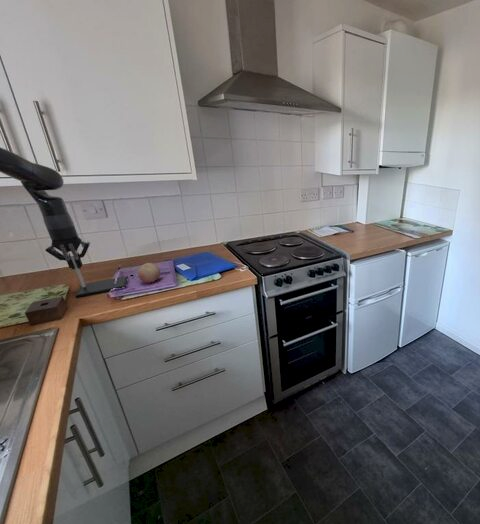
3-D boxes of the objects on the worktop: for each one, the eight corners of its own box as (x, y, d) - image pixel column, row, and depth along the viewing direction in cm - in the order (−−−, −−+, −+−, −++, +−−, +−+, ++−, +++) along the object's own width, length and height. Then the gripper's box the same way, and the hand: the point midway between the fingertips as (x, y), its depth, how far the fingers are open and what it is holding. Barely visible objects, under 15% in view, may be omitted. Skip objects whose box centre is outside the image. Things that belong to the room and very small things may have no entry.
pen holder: (30, 325, 100) (24, 312, 98) (38, 313, 106) (32, 301, 104) (62, 318, 103) (56, 306, 101) (68, 308, 110) (62, 296, 108)
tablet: (76, 298, 116) (75, 295, 116) (82, 286, 125) (81, 284, 124) (126, 288, 123) (125, 285, 123) (128, 278, 132) (127, 275, 132)
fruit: (136, 283, 128) (131, 266, 125) (155, 275, 134) (150, 259, 131) (148, 287, 124) (142, 269, 121) (166, 279, 131) (161, 262, 128)
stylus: (82, 289, 120) (69, 257, 115) (83, 288, 121) (70, 256, 116) (86, 288, 121) (73, 256, 115) (86, 287, 122) (74, 255, 116)
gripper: (31, 230, 104) (51, 275, 111) (81, 225, 111) (96, 268, 117) (38, 225, 110) (57, 268, 117) (85, 220, 117) (100, 261, 123)
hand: (77, 268), depth 117 cm, fingers closed on stylus, 1 cm apart
